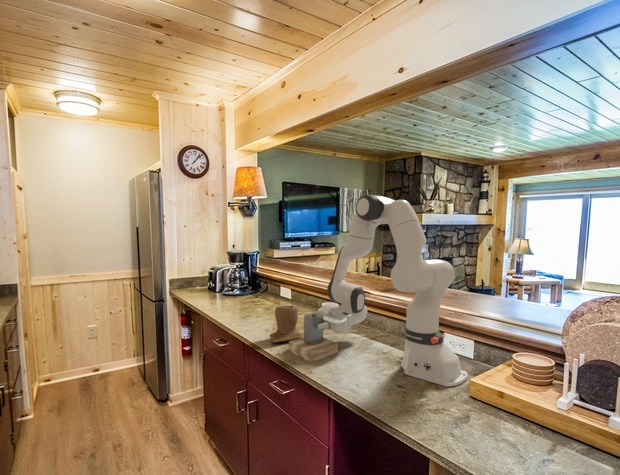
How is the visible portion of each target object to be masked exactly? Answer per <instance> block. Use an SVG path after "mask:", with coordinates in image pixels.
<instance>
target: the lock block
mask: <svg viewBox="0 0 620 475" xmlns="http://www.w3.org/2000/svg"><path fill="white" fill-rule="evenodd" d="M311 312H312V314H307V313H306V314H307V315H306V314H304V315H303V338H304V342H305V343H307V344H309V345H311V346H312V345H316V344H319V343H323V338H324V329H323V328H321V329H317V328H316V324H318V323H320V324H321V323H324V315H321V314H318V313H316V312H315V311H311Z"/></svg>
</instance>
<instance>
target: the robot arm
mask: <svg viewBox="0 0 620 475" xmlns="http://www.w3.org/2000/svg"><path fill="white" fill-rule="evenodd" d="M380 225H381V226H382V227H385V226H389V230H390V232H391V235H392V238H393V243H394V245H395V248H396V262H395V264H394V265H393V267H392V268H391V271H390V282H391V284H392V286H393V287H394V289H396V290H397V291H399V292H404V293H415V295H414V297H413V298H412V300H410V302H409V303H408V304H407V306H406V320H405V322H406V324H405V325H406V326H405V328H404V339H405V344H404V352H403V357H402V361H401V363H400V366H401V368H402V369H403V373H404V375H408V376H410V377H412V378H413V377H414V378H416V379H420V380H423V381H426V382H430V383H434V384H437V385H440V386H443V387H454V386H458V385H461V384H463V383H464V382H466V381H467V380H468V379H469V374H468V372H467V371H466V370H463V369H462V366H461V362H460V358H459V356H458V355H457V354H456V353H455V352H453V350H451V348H449V347H448V345H447V344H446V343H445V342H444V340H443V339H444V338H445V337H446V333H444V334H442V333H441V331H440V329H439V324H440V322H439V321H440V311H441V310H440V309H441V304H442V301H443V298H444V296H445V294H446V291H447V290H448V288H449V287H450V286H451V285H452V284H453V283H454V280H455V277H456V276H455V275H456V272H455V268H454V267H453V265H452V264H451V262H449V261H446V260H443V259H436V258H432V259H424V258H423V254H422V253H423V252H422V251H423V249H424V248H425V246H426V244H427V238H426V235H425V233H424V230H423V227H422V224H421V222H420V219H419V217H418V215H417V213H416V212H415V210H414V207H413V206H412V205H411V204H410V202H409V201H407V200H405V199H394V198H390V197H385V196H384V195H383V196H382V195H374V194H364V195H362V196H360V197H359V198H358V199H357V200H356V203H355V213H354V214H353V216H352V219H351V222H350V225H349V230H348V236H347V240H346V242H345V243H344V246H342V247H341V248H340V250H339V253H338V256H337V259H336V262H335V266H334V269H333V273H332V277H331V279H330V280H329V283H328V285H327V288H326V291H327V293H326V294H327V296H328V298H329V299H330V301H331V302H334V303H340V304H341V305H340V306H338V307H337V308H332V309H330V310H329V311H328V313H324V312H322V311H318V310H316V311H314V312H316V313H318V314H321V315H324V323H321V324H320V323H318V324H316V328H317V329H321V328H323V330H324V329H325V330H326V329H327V330H329V331H333V332H335V333H343V332H350V331H351V330H352V326H353V325H357V324H360V323H361V322H363V321H364V320H365V319H366V318H367V317H368V309H367V306H366V293H365V291H364V288H362V287H361V286H358V285H355V284H352V283H350V282H346V275H347V272H348V269H349V265H350V263H351V262H352V261H353V260H356V259H360V258H363V257H366V256H367V255H369V254H370V253H371V251H372V249H373V246H374V241H375V233H376V230H377V228H378V226H380ZM312 312H313V311H310V312H307V313H306V314H305V315H307V314H312Z"/></svg>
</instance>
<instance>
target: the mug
mask: <svg viewBox="0 0 620 475" xmlns="http://www.w3.org/2000/svg"><path fill="white" fill-rule="evenodd" d="M337 307H339V304H338V302H334V301H331V302H322V303H321V307H320V308H318V310H317V311H321V312H324V313H328V311H329V310H330V309H332V308H337Z"/></svg>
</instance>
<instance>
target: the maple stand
mask: <svg viewBox="0 0 620 475" xmlns="http://www.w3.org/2000/svg"><path fill="white" fill-rule="evenodd" d="M288 352H289V353H291V354H293V355H295V356H297V357H300V358H301V359H303V360H306V361H308V362H310V363H312V362H315V361H318V360H321V359H325V358H327V357H331V356H333V355H337V354H338V353H339V344H338V342H336V341H333V340H331V339H328V338H325V337H323V343H319V344H316V345H312V346H311V345H309V344H307V343H305V342H304V337H301V338H298V339H293V340H288Z"/></svg>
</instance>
